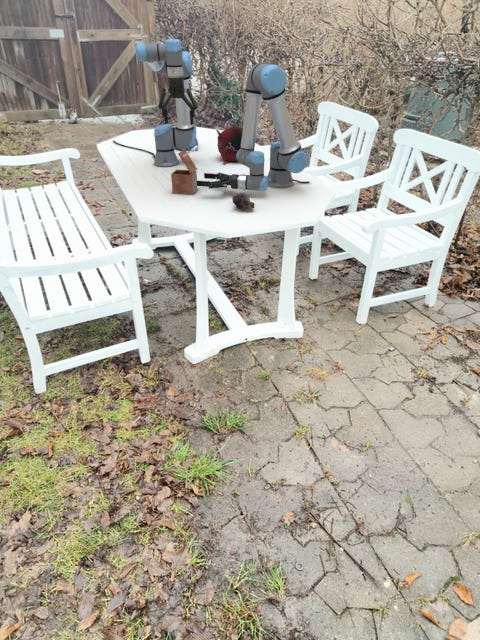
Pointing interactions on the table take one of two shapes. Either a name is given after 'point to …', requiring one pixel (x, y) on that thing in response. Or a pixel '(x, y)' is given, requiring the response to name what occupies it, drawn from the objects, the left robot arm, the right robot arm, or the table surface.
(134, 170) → the table surface
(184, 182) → the chest
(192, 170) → the lid
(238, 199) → the rock
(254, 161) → the right robot arm
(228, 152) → the decorative skull
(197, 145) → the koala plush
